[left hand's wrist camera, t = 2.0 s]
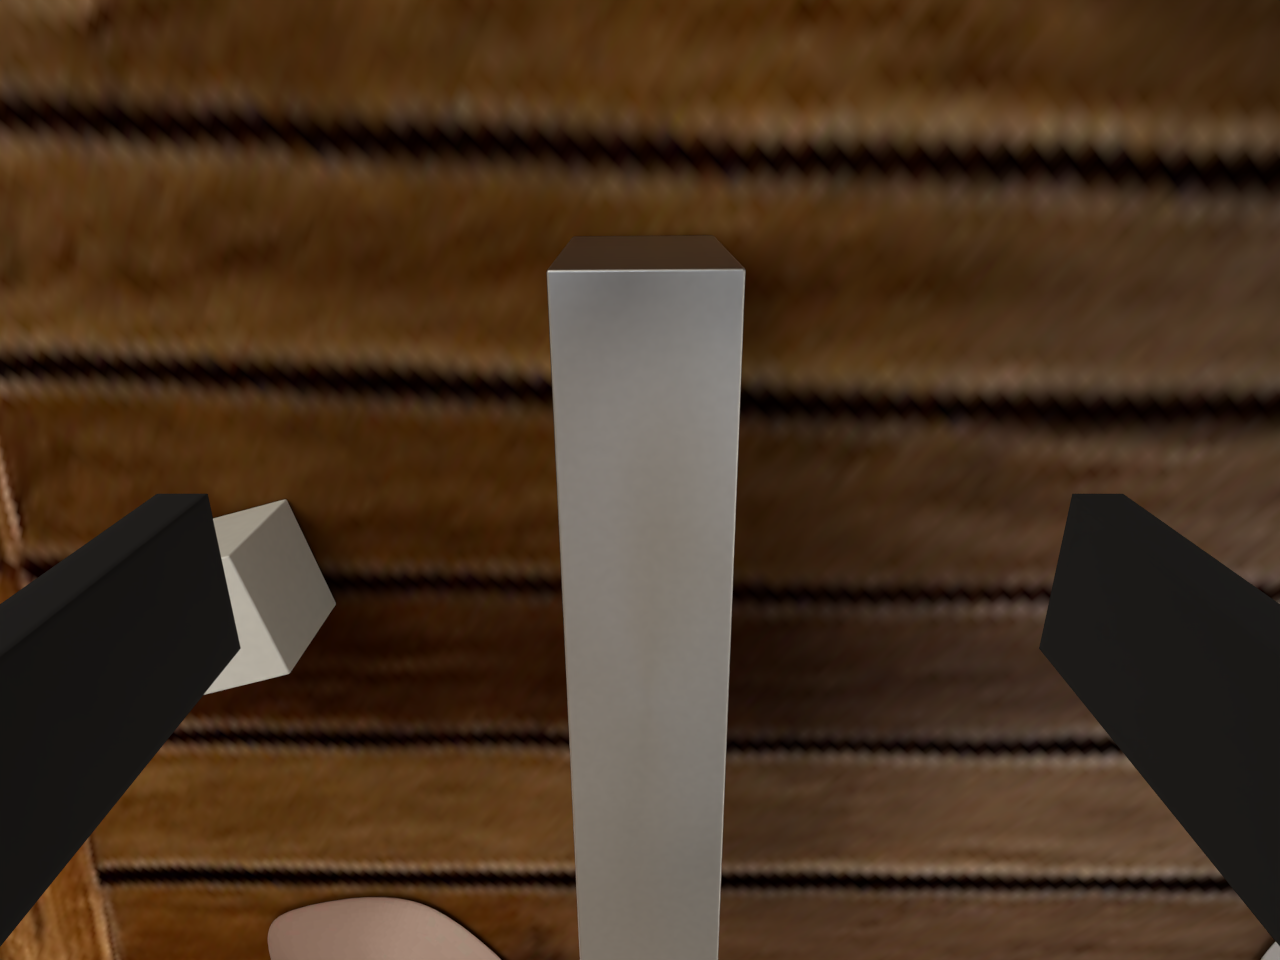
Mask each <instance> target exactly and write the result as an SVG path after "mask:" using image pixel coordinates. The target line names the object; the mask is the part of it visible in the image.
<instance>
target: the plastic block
mask: <svg viewBox="0 0 1280 960" xmlns="http://www.w3.org/2000/svg"><path fill="white" fill-rule="evenodd" d="M213 522H214V526H215V531H216V536H217V540H218V545H219V550H220V554H221V559H222V564H223V568H224V573H225V577H226V582H227V587H228V591H229V596H230V601H231V605H232V610H233V615H234V619H235V624H236V629H237V633H238V638H239V643H240V647H241V649H240V650H239V651H238V653H237V654H236V655H235V656H234V658H233V659H232V660H231V661H230V662H229V664H228V665H227V666H226V667H225V669H224V670H223V671H222V672H221V674H220V675H219V676H218V677H217V679H216V680H215V681H214V682H213V684H212V685H211V686H210V687H209V688H208V690H207V691H206V692H205V693H204V695H205V694H209V693H213V692H217V691H221V690H225V689H229V688H233V687H238V686H242V685H246V684H250V683H254V682H258V681H262V680H266V679H270V678H274V677H278V676H283V675H287V674H289V673H290V672H291V671H292V669H293V668H294V666H295V665H296V663H297V662H298V660H299V659H300V657H301V656H302V654H303V653H304V651H305V650H306V648H307V647H308V645H309V644H310V642H311V641H312V639H313V638H314V636H315V635H316V633H317V632H318V630H319V629H320V627H321V626H322V624H323V623H324V621H325V620H326V618H327V617H328V615H329V614H330V612H331V611H332V609H333V608H334V607H335V605H336V602H335V600H334V598H333V596H332V594H331V592H330V590H329V588H328V586H327V583H326V581H325V579H324V577H323V575H322V573H321V571H320V569H319V567H318V564H317V562H316V560H315V558H314V556H313V554H312V552H311V550H310V548H309V546H308V543H307V541H306V539H305V537H304V535H303V533H302V531H301V529H300V527H299V524H298V522H297V520H296V518H295V516H294V514H293V512H292V510H291V508H290V506H289V503H288V501H287V500H281V501H277V502H273V503H270V504H266V505H262V506H258V507H255V508H251V509H247V510H243V511H240V512H236V513H232V514H228V515H225V516H221V517H217V518H213Z"/></svg>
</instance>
